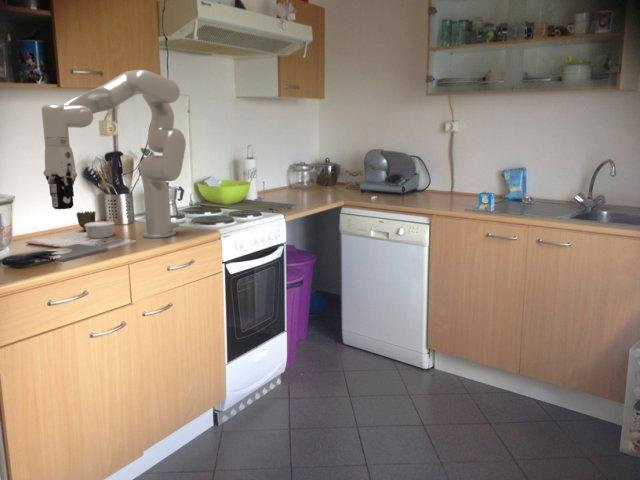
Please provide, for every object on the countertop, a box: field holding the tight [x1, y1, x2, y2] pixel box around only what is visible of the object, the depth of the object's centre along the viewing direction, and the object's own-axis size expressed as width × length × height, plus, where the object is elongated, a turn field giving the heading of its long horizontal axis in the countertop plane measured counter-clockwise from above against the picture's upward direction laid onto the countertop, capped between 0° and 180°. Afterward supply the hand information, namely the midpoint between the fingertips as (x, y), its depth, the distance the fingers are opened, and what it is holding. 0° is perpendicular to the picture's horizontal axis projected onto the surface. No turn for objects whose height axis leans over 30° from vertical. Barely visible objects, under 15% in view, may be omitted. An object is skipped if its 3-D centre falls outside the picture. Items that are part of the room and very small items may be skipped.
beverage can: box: [49, 173, 74, 210], centre depth 192 cm, size 7×7×12 cm
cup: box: [76, 210, 97, 233], centre depth 236 cm, size 8×7×8 cm
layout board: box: [45, 243, 109, 263], centre depth 196 cm, size 18×16×1 cm
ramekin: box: [84, 220, 116, 239], centre depth 226 cm, size 11×11×5 cm
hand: (62, 195), depth 192 cm, fingers closed on beverage can, 6 cm apart
